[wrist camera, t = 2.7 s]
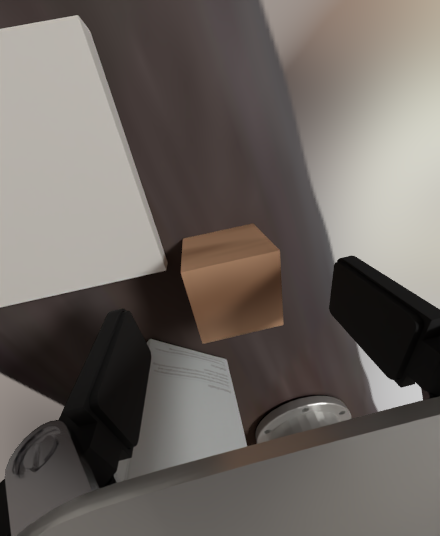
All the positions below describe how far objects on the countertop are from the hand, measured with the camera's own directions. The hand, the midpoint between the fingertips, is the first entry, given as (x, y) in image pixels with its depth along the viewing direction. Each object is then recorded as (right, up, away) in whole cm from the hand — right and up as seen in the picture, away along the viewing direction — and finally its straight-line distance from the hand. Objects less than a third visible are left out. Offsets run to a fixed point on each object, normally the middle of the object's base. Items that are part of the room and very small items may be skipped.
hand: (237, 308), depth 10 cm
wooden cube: (-1, +2, +6) cm, 7 cm away
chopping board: (-11, +6, +3) cm, 13 cm away
